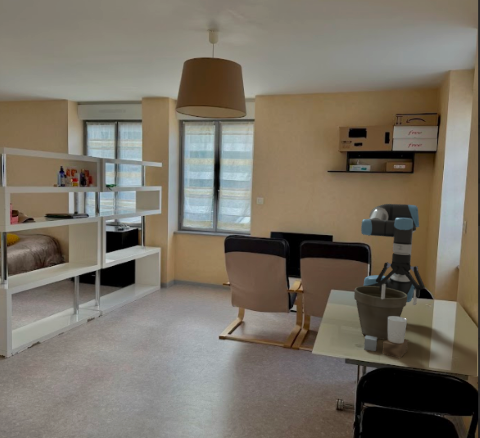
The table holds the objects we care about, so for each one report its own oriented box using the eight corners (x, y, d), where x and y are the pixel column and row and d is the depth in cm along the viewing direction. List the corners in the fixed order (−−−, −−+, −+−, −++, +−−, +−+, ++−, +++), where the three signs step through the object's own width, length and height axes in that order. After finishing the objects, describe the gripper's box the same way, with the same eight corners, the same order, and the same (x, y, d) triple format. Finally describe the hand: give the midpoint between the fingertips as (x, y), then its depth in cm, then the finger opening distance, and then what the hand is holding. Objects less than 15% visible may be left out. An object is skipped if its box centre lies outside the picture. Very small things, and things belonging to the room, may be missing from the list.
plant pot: (415, 339, 211) (418, 295, 209) (379, 346, 199) (382, 299, 197) (376, 324, 233) (378, 284, 231) (341, 330, 220) (343, 287, 219)
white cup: (393, 344, 187) (394, 321, 186) (382, 338, 194) (384, 316, 194) (409, 343, 189) (410, 321, 188) (397, 337, 197) (399, 315, 196)
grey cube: (364, 349, 194) (364, 338, 194) (365, 345, 199) (365, 335, 198) (375, 351, 192) (376, 340, 192) (376, 347, 197) (377, 336, 197)
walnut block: (382, 353, 190) (383, 342, 189) (390, 346, 199) (390, 336, 198) (400, 357, 185) (400, 346, 185) (407, 350, 194) (407, 339, 194)
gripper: (370, 250, 193) (367, 297, 195) (430, 257, 179) (426, 308, 180) (376, 249, 199) (373, 295, 201) (434, 256, 185) (430, 305, 186)
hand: (398, 301), depth 191 cm, fingers open, 13 cm apart
